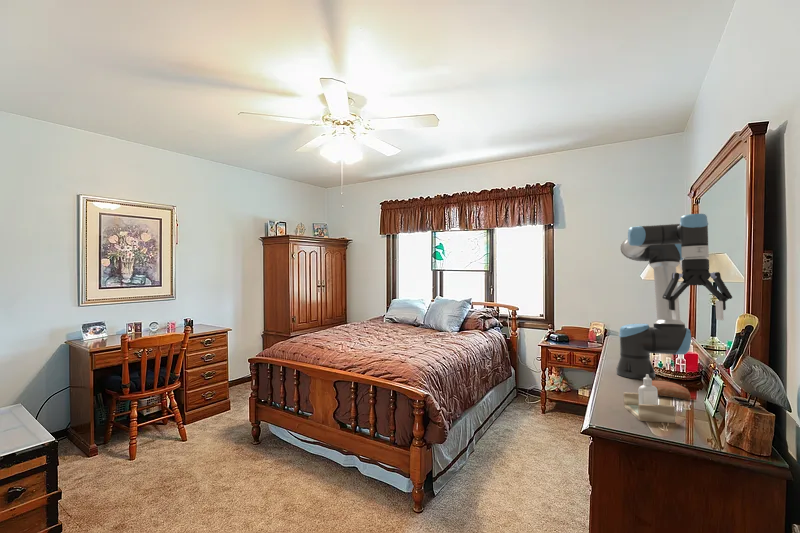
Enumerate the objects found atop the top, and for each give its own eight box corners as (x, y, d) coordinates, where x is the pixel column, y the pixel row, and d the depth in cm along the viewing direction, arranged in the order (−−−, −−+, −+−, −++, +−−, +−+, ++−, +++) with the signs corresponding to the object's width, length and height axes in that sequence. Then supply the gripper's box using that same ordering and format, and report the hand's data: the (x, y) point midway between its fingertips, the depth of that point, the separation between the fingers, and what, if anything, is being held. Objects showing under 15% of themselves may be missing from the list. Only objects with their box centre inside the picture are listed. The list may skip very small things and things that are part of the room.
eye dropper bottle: (660, 413, 124) (658, 376, 124) (640, 411, 126) (638, 375, 126) (657, 409, 128) (655, 373, 128) (637, 407, 130) (636, 372, 130)
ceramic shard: (684, 377, 151) (691, 393, 138) (681, 392, 152) (689, 410, 139) (641, 369, 158) (644, 383, 145) (639, 383, 159) (641, 399, 146)
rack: (624, 406, 134) (623, 392, 134) (655, 408, 132) (654, 393, 132) (640, 421, 121) (639, 405, 121) (675, 422, 119) (674, 406, 119)
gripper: (660, 259, 131) (662, 320, 130) (744, 257, 126) (746, 321, 125) (650, 260, 138) (652, 318, 138) (729, 258, 133) (731, 318, 133)
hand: (697, 319), depth 131 cm, fingers open, 13 cm apart
